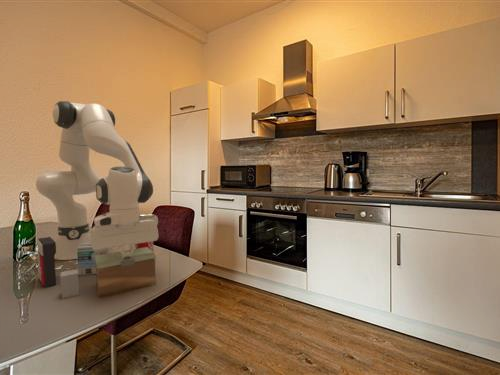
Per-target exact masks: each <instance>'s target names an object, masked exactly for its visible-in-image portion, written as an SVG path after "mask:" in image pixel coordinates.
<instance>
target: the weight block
mask: <svg viewBox="0 0 500 375" xmlns="http://www.w3.org/2000/svg"><path fill="white" fill-rule="evenodd" d="M59 277H60V289H61V299H62V298H63V299H65V298H64V297H67V298H72V297H75V296H79V295H80V283H79V281H80V280H79V275H78V268H76V269H71V270H66V271H61V272H60V276H59ZM71 296H72V297H71Z"/></svg>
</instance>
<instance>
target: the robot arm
mask: <svg viewBox="0 0 500 375" xmlns="http://www.w3.org/2000/svg"><path fill="white" fill-rule="evenodd" d="M52 118H53V122H54V124H55V125H56V126H57V127H59V128H62V130H61V134H60V141H59V150H58V151H59V152H58V157H59V159H60V160H61V161H62V162H63V163H65V164H66V165H68V166H71V170H70V171H69V170H68V171H65V170H64V171H63V170H62V171H51V172H45V173H40V174H39V176H38V177H37V178H36V181H35V187H36V190H37V192H38V193H39V194H40V195H42V196H44V197H45V198H47V199H48V200H49V201H50V202H51V203H53V205H54V207H55V209H56V213H57V219H58V220H57V221H58V226H57V235H58V236H57V237H56V238H55V240H54V241H55V243H56V254H55V255H54V259H55V260H58V261H67V260H68V261H70V260H76V259H77V260H78V257H77V248H78V247H79V246H80V245H81V244H82V243H91V248H92V249H93V250H99V249H105V248H112V249H113V248H116V247H117V250H118V252H121V254H122V259H127V258H132V252H133V251H134V249H135V244H138V243H144V242H151V241H153V242H156V241H158V239H159V235H160V234H159V230H158V225H159V218H158V216H157V215H156V214H153V213H149V214H140V205H139V204H144V203H146V202H148V201H149V199H151V197H153V193H154V186H153V183H152V181H151V180H150V178H149V177H148V175H147V174H146V172H145V171H144V169H143V167H142V165H141V163H140V161H139V159H138V157H137V156H136V153H135V151H134V150H133V147H131V144H130V143H129V142H128V141H127V140H125V139H124V138H122V136H120V135H119V134H118V132H117V130H116V128H115V126H116V117H115V114H114V112H113V111H112V110H110V109H108V108H106V107H104V106H103V105H102V104H100V103H93V102H92V103H88V104H86V103H85V104H84V103H80V102H79V103H78V102H70V101H66V100H62V101H61V100H59V101H58V102H56V103H55V104H54V107H53V109H52ZM91 150H92V151H94V152H95V153H97V154H101V155H104V156H105V155H106V156H108V157H112V158H114V159H117V160H119V161H120V162H121V163H123V165H124V166H113V167H111V168H109V169H108V175H107V176H105V177H103V178H101V176H99V175H100V174H98V173H97V172H96V171H95V170H93V168H92V167H91V164H90V151H91ZM91 193H95V196H96V200H97V201H99V202H100V203H101V204H104V205H109V212H106V213H103V214H101V215H98V216H95V217H94V219H93V224H94V225H93V226H92V228H91V233H90V232H89V231H90V226H89V223H88V210H87V207H86V206H85V205H84V204H82V203H79V202H77V201H75V200H74V196H78V195H79V196H80V195H88V194H91ZM124 246H129V247H130V249H129V250H130V251H129V252H123V251H124V250H123V249H124Z"/></svg>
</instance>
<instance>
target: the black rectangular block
mask: <svg viewBox="0 0 500 375" xmlns="http://www.w3.org/2000/svg"><path fill="white" fill-rule="evenodd" d="M36 243H37V251H36V252H37V264H38V278H39V280H40V283H41V284H42V286H43V287H45V288H49V287H52V286H56V285H57V276H56V261H55V260H56V259H54V255H55V254H56V243H55V240H54V239H53V238H52V237H50V236H48V237H47V236H46V237H41V238H38V239H37V240H36Z"/></svg>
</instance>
